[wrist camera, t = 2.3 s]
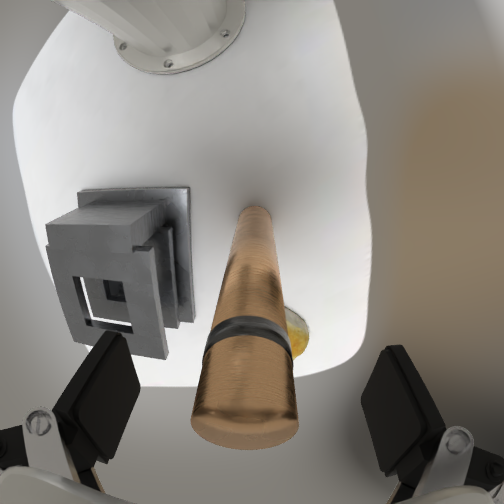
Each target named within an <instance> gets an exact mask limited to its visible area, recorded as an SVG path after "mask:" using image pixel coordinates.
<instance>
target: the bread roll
mask: <svg viewBox="0 0 504 504" xmlns="http://www.w3.org/2000/svg"><path fill="white" fill-rule="evenodd" d="M284 308H285V307H284ZM285 315H286V323H287V330H288V337H289V339H290V343H291V350H292V358H293V360H294V359H295V358H296V357H297V356H299V355H301V354H302V353H303V352H304V350H305V348H306V347H307V344H308V341H309V332H308V329H307V326H306V323H305V322H304V321H303V320H302V319H301V318H299V317H298V316H297V315H296V314H295V313H294V312H292V311H290V310H289V309H287V308H285Z"/></svg>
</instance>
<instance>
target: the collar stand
mask: <svg viewBox="0 0 504 504" xmlns="http://www.w3.org/2000/svg"><path fill="white" fill-rule="evenodd" d="M77 197H78V207H79V208H77V209H75V210H73V211H71V212H69V213H67V214H65V215H63V216H61V217H59V218H57V219H55V220H53V221H51V222H49V223H47V224H45V225H46V231H47V237H48V242H49V244H48V245H46V250H47V255H48V259H49V264H50V268H51V272H52V276H53V279H54V283H55V287H56V290H57V294H58V297H59V300H60V303H61V306H62V309H63V312H64V315H65V318H66V321H67V324H68V326H69V329H70V332H71V335H72V337H73V340H74V341H75V342H78V343H82V344H86V345H90V346H94V345H95V344H96V343H97V341H98V340H99V338H100V337H101V336H102V334H103V333H104V332H105V331H106V330H110V331H115V332H120V333H121V334H122V336H123V337H125V338H126V340H127V344H128V347H129V351H130V354H132V355H138V356H144V357H150V358H156V359H163V360H166V358H167V356H168V353H169V351H168V346H167V340H166V335H165V329H164V327H166V328H175V329H178V327H179V325H180V322H190V323H194V320H195V308H194V294H193V279H192V261H191V237H190V188H123V189H101V190H84V191H80V192H77ZM80 277H83V279H84V283H85V287H86V291H87V295H88V299H89V302H90V306H91V310H92V313H93V316H94V317H99V318H104V319H110V320H116V321H123V322H129V323H131V325H132V326H126V325H120V324H114V323H108V322H103V321H97V320H92V319H91V317H90V314H89V310H88V307H87V303H86V300H85V296H84V292H83V288H82V284H81V280H80Z"/></svg>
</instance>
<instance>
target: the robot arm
mask: <svg viewBox="0 0 504 504" xmlns="http://www.w3.org/2000/svg"><path fill="white" fill-rule="evenodd" d="M51 1H53V2H55V3H57V4H59V5H61V6H63V7H65V8H67V9H69V10H71V11H73V12H75V13H77V14H78V15H80V16H82V17H84V18H86V19H88V20H89V21H91V22H93V23H95V24H96V25H98V26H100V27H102V28H103V29H105V30H107V31H108V32H110V33H112V34H113V39H114V45H115V48H116V50H117V52H118V54H119V55H120V56H121V58H122V59H123V60H124V61H125V62H127V63H128V64H129V65H131V66H132V67H134V68H136V69H138V70H141V71H144V72H148V73H154V74H173V73H178V72H183V71H187V70H190V69H193V68H195V67H198V66H201V65H202V64H204V63H206V62H208V61H210V60H212V59H213V58H215V57H216V56H217V55H219V54H220V53H222V52H223V51H224V50H225V49H226V48H227V47H228V46H229V45H230V44H231V43H232V42H233V41H234V39H235V38H236V36H237V35H238V34H239V32H240V30H241V27H242V25H243V23H244V18H245V2H244V0H51ZM224 35H229V36H228V37H224ZM170 64H173V65H172V66H171V67H170V68H169V65H170ZM139 393H140V383H139V380H138V377H137V374H136V370H135V367H134V364H133V361H132V357H131V354H130V351H129V347H128V344H127V340H126V338H125V337H123V336H122V334H121V333H120V332H115V331H110V330H106V331H105V332H104V333H103V334H102V336H101V337H100V338H99V340H98V341H97V343H96V344H95V345H94V347H93V348H92V350H91V351H90V353H89V354H88V355H87V357H86V358H85V360H84V361H83V363H82V364H81V366H80V367H79V369H78V370H77V372H76V373H75V375H74V376H73V378H72V379H71V381H70V382H69V384H68V385H67V387H66V389H65V390H64V392H63V393H62V395H61V396H60V398H59V399H58V401H57V403H56V404H55V406H54V408H53V409H52V411H51V410H49V409H48V408H45V407H35V408H32V409H31V410H29V411H28V412H27V413H26V414H25V416H24V418H23V424H22V425H19V426H15V427H12V428H8V429H4V430H0V504H135V503H132V502H128V501H125V500H122V499H119V498H116V497H113V496H110V495H108V494H106V493H105V491H104V489H103V487H102V485H101V482H100V480H99V478H98V476H97V473H96V471H95V469H94V465H95V462H96V460H97V461H100V462H102V463H105V464H108V461H109V459H112V458H113V457H114V455H115V452H116V450H117V448H118V445H119V442H120V440H121V437H122V434H123V432H124V429H125V427H126V424H127V422H128V420H129V417H130V414H131V412H132V410H133V407H134V405H135V402H136V400H137V398H138V395H139ZM361 405H362V408H363V411H364V414H365V418H366V421H367V424H368V428H369V431H370V434H371V438H372V441H373V445H374V449H375V452H376V456H377V459H378V463H379V467H380V470H381V471H382V472H385V476H386V477H389V476H393V475H396V474H397V475H398V478H399V482H398V483H397V485H396V487H395V489H394V491H393V493H392V494H391V496H390V498H389V500H388V501H387V503H386V504H504V459H503V458H502V457H501V456H499V455H496V454H493V453H490V452H488V451H485V450H482V449H480V448H477V447H475V446H474V441H473V437H472V435H471V434H470V432H469V431H468V430H467V429H465V428H463V427H459V426H455V427H451V428H449V429H446V427H445V423H444V421H443V419H442V417H441V415H440V413H439V411H438V409H437V407H436V405H435V403H434V401H433V399H432V397H431V395H430V393H429V391H428V390H427V388H426V386H425V384H424V382H423V380H422V379H421V377H420V375H419V373H418V371H417V370H416V368H415V366H414V364H413V362H412V361H411V359H410V357H409V356H408V354H407V352H406V350H405V349H404V347H403V346H402V345H391V346H387V347H386V348H385V349H384V350H382V351H381V353H380V355H379V358H378V360H377V363H376V365H375V367H374V370H373V372H372V374H371V376H370V379H369V381H368V383H367V385H366V387H365V389H364V391H363V393H362V396H361Z"/></svg>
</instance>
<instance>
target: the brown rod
mask: <svg viewBox="0 0 504 504" xmlns="http://www.w3.org/2000/svg"><path fill="white" fill-rule="evenodd" d="M191 425H192V428H193V429H194V431H195V432H196V433H197V434H198V435H199V436H201V437H202V438H204V439H205V440H207V441H209V442H211V443H214V444H216V445H219V446H223V447H226V448H231V449H240V450H257V449H265V448H270V447H274V446H277V445H280V444H282V443H284V442H286V441H287V440H289V439H291V438H292V437H293V436H294V435H295V434H296V432H297V430H298V427H299V422H298V413H297V404H296V395H295V386H294V378H293V358H292V350H291V343H290V339H289V337H288V330H287V323H286V315H285V308H284V301H283V294H282V287H281V280H280V273H279V266H278V260H277V253H276V247H275V240H274V234H273V227H272V221H271V217H270V214H269V213H268V212H267V211H266V210H265V209H264V208H262V207H259V206H250V207H248V208H246V209H244V210H243V211H242V212H241V214H240V216H239V219H238V223H237V227H236V231H235V235H234V238H233V242H232V246H231V250H230V254H229V258H228V262H227V266H226V270H225V274H224V278H223V282H222V286H221V290H220V294H219V298H218V302H217V306H216V311H215V315H214V319H213V323H212V327H211V331H210V334H209V336H208V338H207V342H206V346H205V351H204V355H203V360H202V370H201V375H200V379H199V384H198V388H197V393H196V397H195V402H194V407H193V411H192V416H191Z"/></svg>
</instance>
